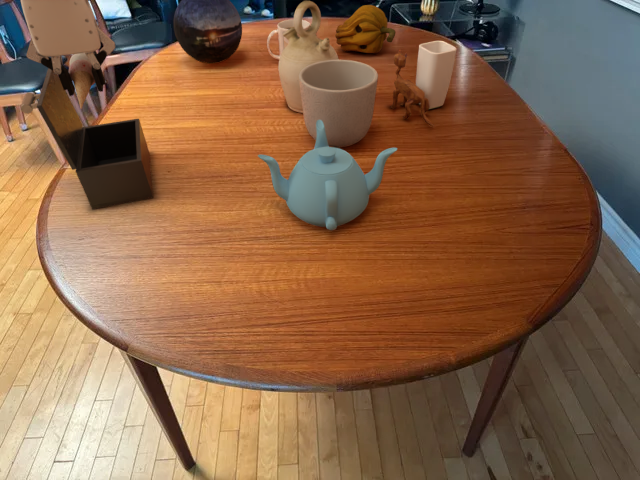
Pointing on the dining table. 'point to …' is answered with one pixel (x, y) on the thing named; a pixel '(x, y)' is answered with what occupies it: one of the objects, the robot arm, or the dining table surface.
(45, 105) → the bin lid
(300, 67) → the jug
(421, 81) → the cup
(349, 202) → the teapot
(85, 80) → the ice cream cone
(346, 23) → the fruit
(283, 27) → the mug
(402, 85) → the cat figurine
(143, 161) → the bin
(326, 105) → the planter
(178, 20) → the decorative sphere
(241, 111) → the dining table surface
